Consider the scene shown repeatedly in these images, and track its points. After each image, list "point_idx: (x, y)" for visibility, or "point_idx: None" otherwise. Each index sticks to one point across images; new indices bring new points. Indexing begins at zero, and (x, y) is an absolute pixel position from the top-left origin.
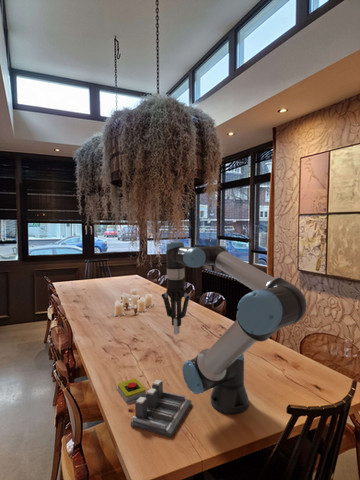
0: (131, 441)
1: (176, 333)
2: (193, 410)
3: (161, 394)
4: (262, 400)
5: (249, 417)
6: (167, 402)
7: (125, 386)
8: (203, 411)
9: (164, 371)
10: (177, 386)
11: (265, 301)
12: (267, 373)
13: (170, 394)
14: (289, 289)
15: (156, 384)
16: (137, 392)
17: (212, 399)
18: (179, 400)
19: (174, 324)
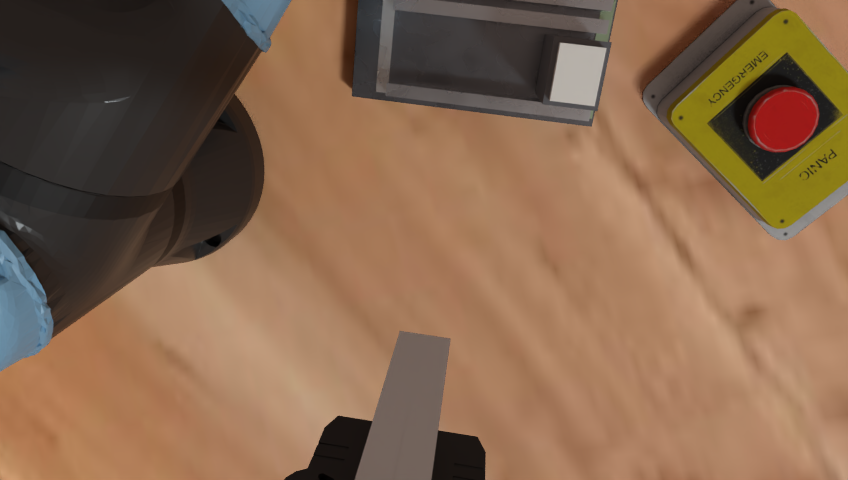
0: None
1: (405, 339)
2: (330, 37)
3: (540, 74)
4: None
5: None
6: (478, 5)
7: (829, 116)
8: (275, 43)
9: (609, 387)
10: (485, 247)
11: None
12: (57, 452)
13: (483, 95)
14: None
15: (576, 44)
16: (716, 68)
17: (226, 110)
18: (421, 77)
19: (420, 427)
